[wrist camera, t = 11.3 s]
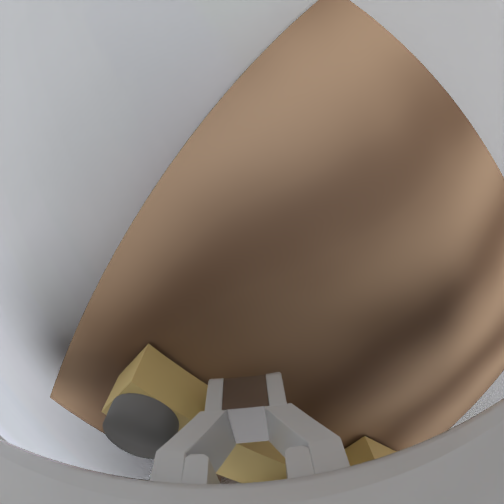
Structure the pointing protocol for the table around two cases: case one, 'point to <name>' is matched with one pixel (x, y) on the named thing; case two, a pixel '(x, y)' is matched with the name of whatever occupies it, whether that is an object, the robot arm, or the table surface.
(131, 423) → the link
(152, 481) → the robot arm
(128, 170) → the table surface
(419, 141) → the board
